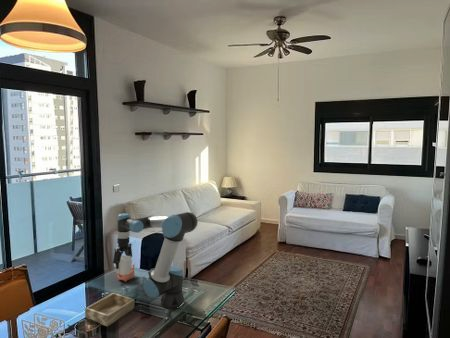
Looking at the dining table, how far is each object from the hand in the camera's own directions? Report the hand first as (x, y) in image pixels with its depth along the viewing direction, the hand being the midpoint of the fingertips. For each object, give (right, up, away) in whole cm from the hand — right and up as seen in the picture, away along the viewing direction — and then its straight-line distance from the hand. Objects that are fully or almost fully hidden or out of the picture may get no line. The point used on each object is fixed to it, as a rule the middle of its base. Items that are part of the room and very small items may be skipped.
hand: (122, 270), depth 214 cm
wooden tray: (0, -18, -23) cm, 29 cm away
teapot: (-5, -14, +24) cm, 28 cm away
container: (+19, -16, +19) cm, 31 cm away
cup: (0, -1, 0) cm, 1 cm away
